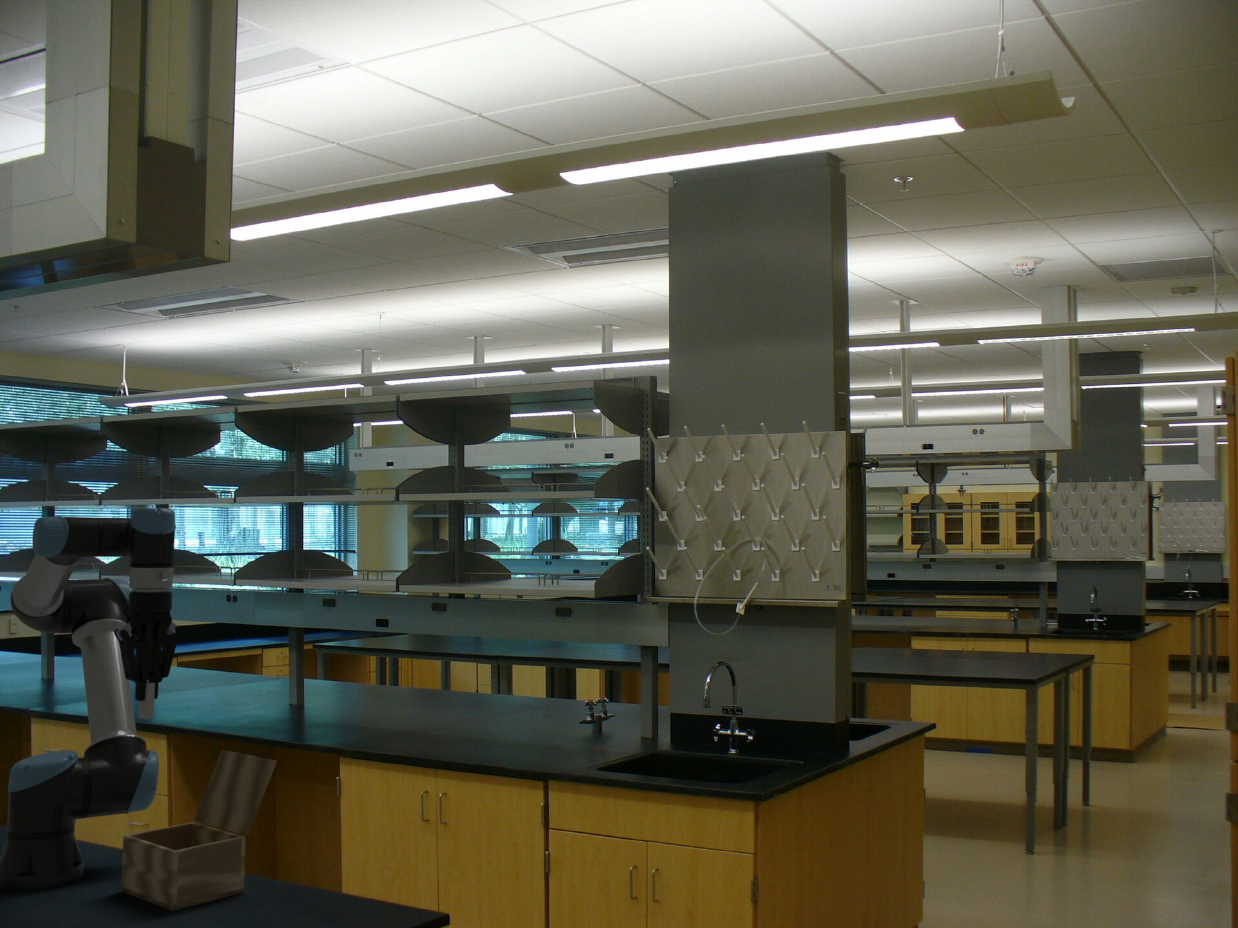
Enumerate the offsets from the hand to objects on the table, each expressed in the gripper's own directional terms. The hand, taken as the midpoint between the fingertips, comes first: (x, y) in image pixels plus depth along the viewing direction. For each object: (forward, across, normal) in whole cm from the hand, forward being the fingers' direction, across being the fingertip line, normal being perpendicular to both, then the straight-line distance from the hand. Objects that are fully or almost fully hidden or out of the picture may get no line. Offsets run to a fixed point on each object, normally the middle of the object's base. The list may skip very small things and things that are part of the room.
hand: (145, 717), depth 209 cm
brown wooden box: (+31, +4, -7) cm, 32 cm away
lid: (+15, +14, -7) cm, 22 cm away
